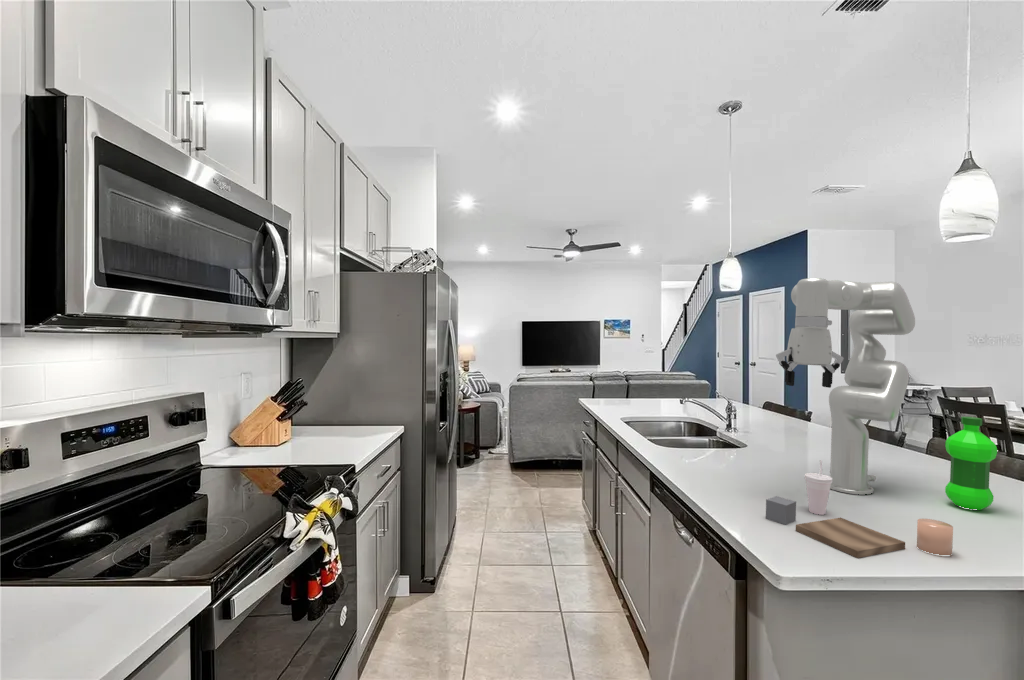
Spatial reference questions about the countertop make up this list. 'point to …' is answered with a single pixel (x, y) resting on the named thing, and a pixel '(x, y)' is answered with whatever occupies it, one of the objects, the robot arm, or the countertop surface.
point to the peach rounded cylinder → (934, 536)
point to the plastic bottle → (970, 466)
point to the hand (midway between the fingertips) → (808, 386)
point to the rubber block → (781, 510)
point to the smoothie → (818, 491)
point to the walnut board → (850, 537)
